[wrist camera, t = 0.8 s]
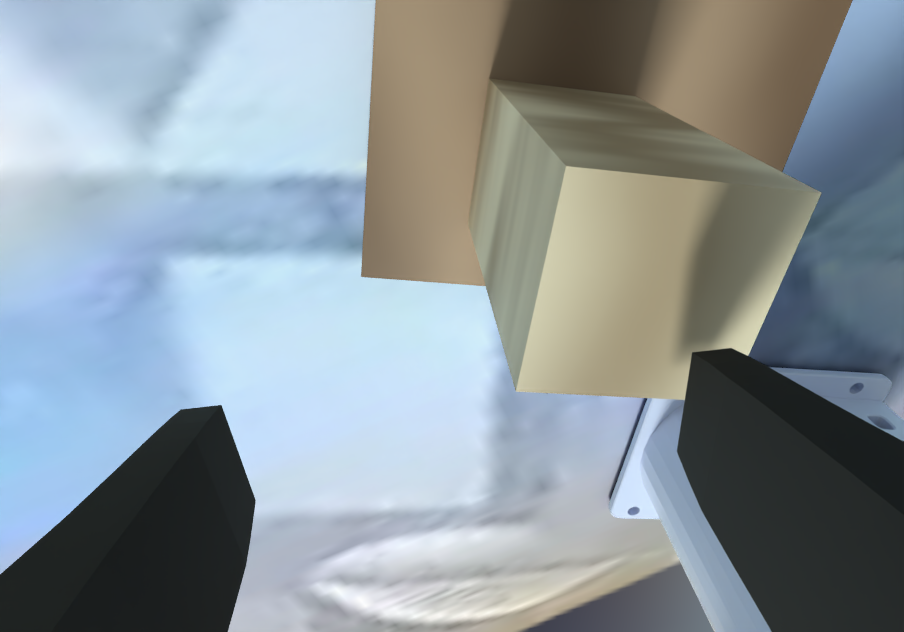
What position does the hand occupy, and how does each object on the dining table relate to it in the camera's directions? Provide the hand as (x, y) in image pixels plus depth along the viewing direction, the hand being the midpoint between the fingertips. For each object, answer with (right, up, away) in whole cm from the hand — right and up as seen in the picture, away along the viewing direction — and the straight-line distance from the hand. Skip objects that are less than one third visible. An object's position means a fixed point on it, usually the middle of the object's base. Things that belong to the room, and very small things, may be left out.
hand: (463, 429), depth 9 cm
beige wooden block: (+3, +6, +7) cm, 10 cm away
